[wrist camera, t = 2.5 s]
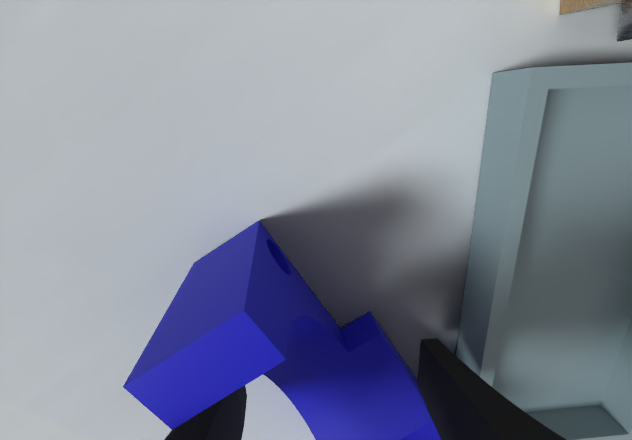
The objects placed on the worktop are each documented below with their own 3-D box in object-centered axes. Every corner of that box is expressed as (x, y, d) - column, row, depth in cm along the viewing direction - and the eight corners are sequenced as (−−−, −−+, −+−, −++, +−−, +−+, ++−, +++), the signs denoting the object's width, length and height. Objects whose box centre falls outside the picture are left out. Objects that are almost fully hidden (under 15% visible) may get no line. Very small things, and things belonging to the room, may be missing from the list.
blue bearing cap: (429, 397, 16) (515, 555, 10) (350, 442, 16) (392, 621, 10) (292, 198, 12) (307, 270, 6) (194, 262, 12) (122, 387, 7)
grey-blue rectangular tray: (601, 405, 17) (638, 441, 15) (447, 420, 16) (465, 459, 15) (723, 61, 11) (805, 53, 9) (493, 72, 11) (531, 67, 9)
